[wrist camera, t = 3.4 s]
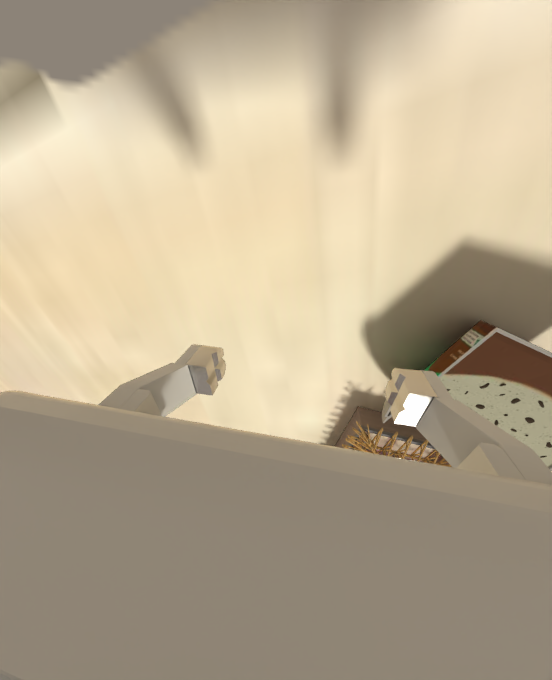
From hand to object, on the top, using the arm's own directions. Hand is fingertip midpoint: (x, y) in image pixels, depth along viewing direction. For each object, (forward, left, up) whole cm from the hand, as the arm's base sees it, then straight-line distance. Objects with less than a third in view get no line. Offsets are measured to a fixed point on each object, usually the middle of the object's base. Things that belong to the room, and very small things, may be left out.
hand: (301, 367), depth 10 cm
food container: (-16, +1, -8) cm, 18 cm away
